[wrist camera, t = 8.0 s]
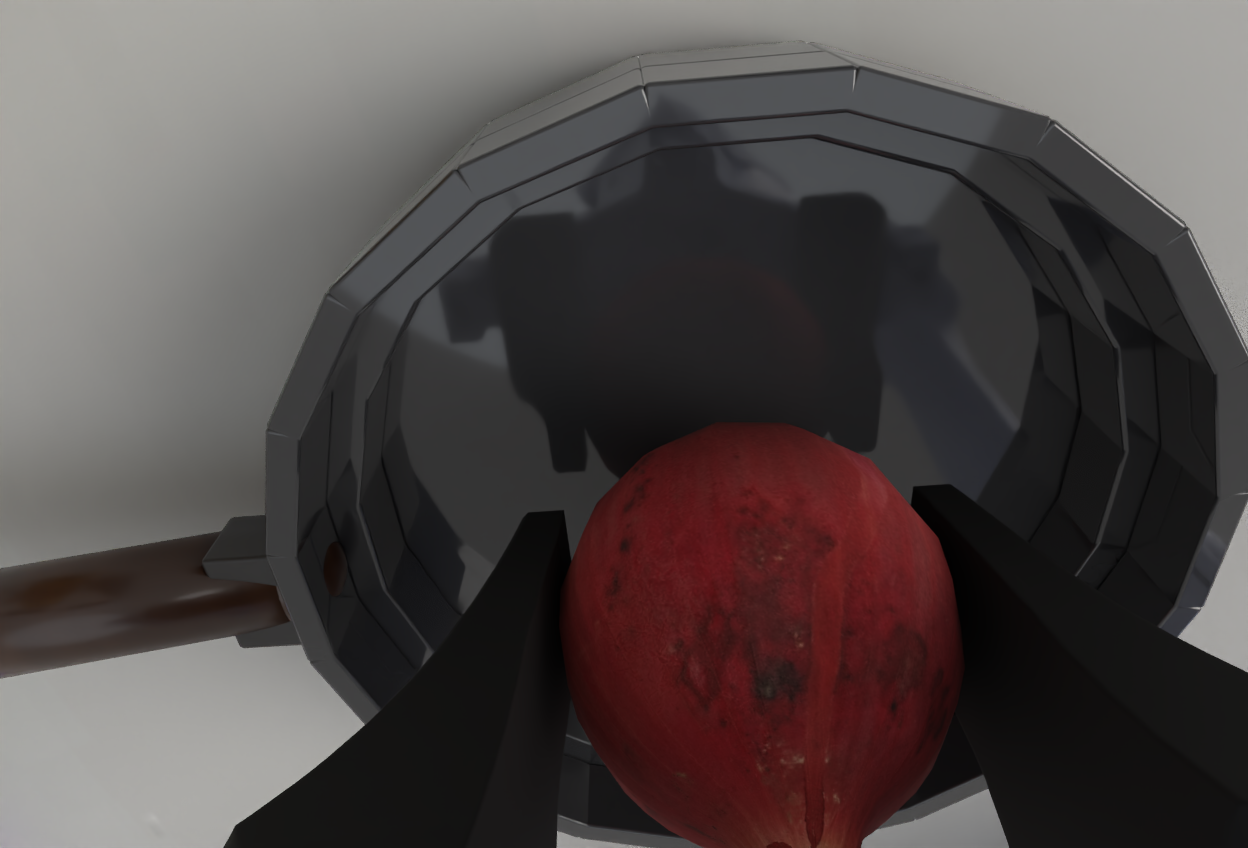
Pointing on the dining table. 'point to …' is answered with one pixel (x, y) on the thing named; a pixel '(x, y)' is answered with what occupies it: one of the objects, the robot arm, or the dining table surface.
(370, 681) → the pan
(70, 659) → the pan handle
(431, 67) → the dining table surface
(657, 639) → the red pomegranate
